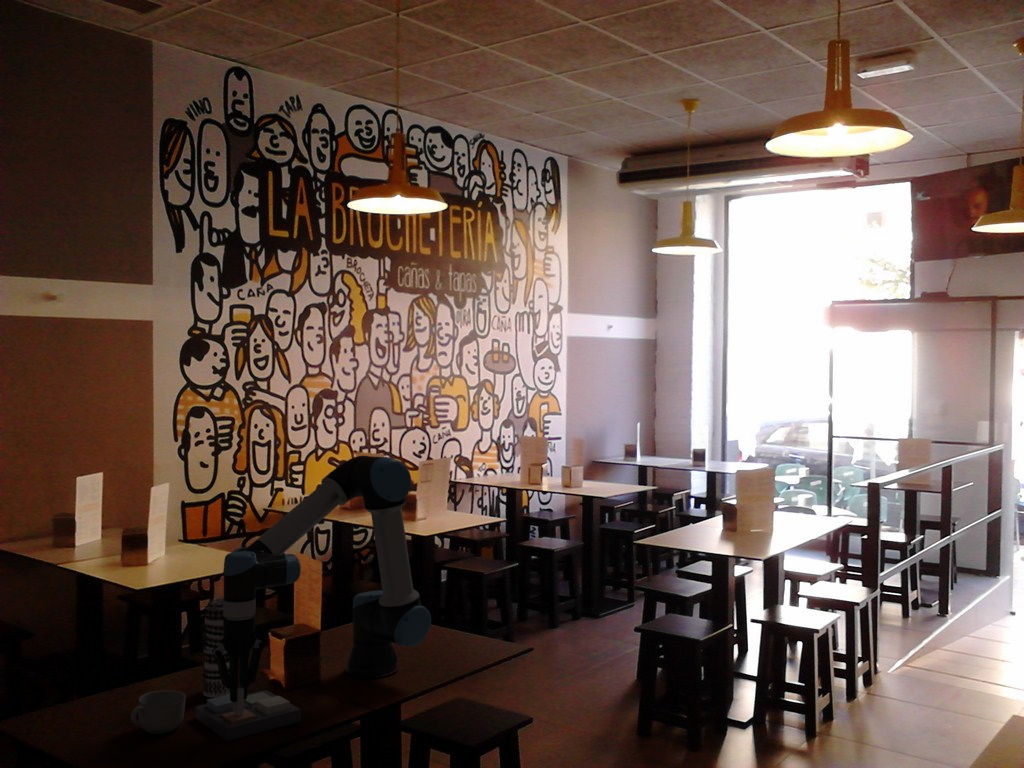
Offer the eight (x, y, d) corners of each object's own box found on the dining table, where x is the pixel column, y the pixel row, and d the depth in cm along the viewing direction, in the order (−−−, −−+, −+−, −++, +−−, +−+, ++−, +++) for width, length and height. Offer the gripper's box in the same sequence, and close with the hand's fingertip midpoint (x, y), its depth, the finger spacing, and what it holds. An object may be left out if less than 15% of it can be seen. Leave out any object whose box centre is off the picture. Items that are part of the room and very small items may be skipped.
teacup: (171, 718, 222) (171, 686, 222) (194, 728, 215) (194, 695, 215) (116, 734, 211) (117, 700, 211) (139, 746, 204) (139, 711, 205)
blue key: (229, 706, 226) (229, 694, 226) (239, 712, 221) (239, 700, 221) (206, 711, 222) (206, 699, 222) (216, 718, 217) (216, 706, 217)
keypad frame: (266, 701, 234) (266, 690, 234) (300, 721, 220) (300, 709, 220) (195, 718, 222) (195, 706, 222) (227, 741, 207) (227, 728, 207)
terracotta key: (244, 720, 219) (245, 708, 219) (255, 727, 214) (255, 715, 214) (221, 726, 215) (221, 714, 215) (232, 734, 210) (232, 721, 210)
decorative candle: (194, 693, 240) (195, 601, 240) (223, 684, 248) (223, 595, 248) (214, 700, 235) (215, 606, 235) (243, 691, 242) (244, 599, 243)
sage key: (262, 703, 231) (262, 692, 231) (273, 709, 227) (273, 698, 227) (240, 708, 227) (240, 697, 228) (251, 715, 223) (251, 703, 223)
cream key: (278, 707, 225) (278, 695, 225) (289, 713, 220) (289, 701, 220) (256, 712, 221) (256, 700, 221) (267, 719, 216) (267, 707, 216)
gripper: (257, 609, 222) (256, 703, 222) (207, 617, 213) (205, 716, 213) (271, 615, 216) (270, 712, 216) (219, 624, 208) (218, 724, 207)
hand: (238, 713), depth 214 cm, fingers closed
